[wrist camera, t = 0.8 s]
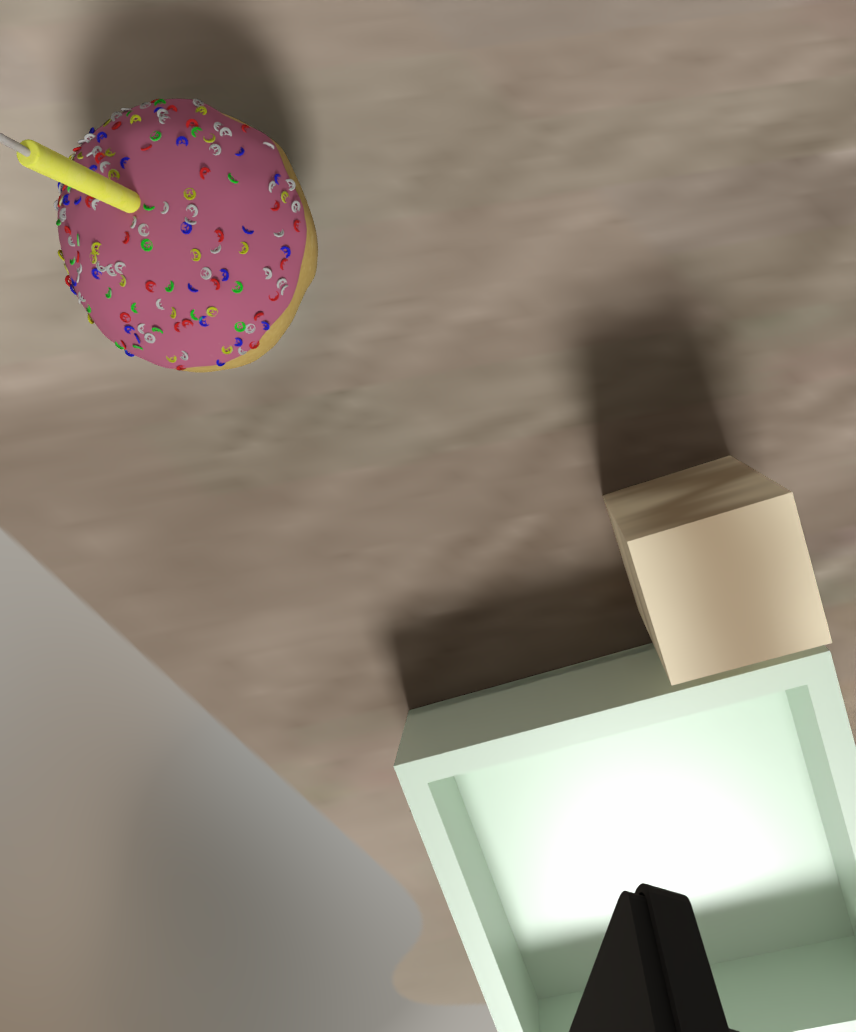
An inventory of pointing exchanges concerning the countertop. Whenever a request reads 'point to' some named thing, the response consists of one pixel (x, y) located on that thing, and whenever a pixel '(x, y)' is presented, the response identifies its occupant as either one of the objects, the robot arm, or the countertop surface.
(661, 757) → the bin
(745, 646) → the beech block
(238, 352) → the cupcake
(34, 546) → the countertop surface
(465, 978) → the countertop surface
